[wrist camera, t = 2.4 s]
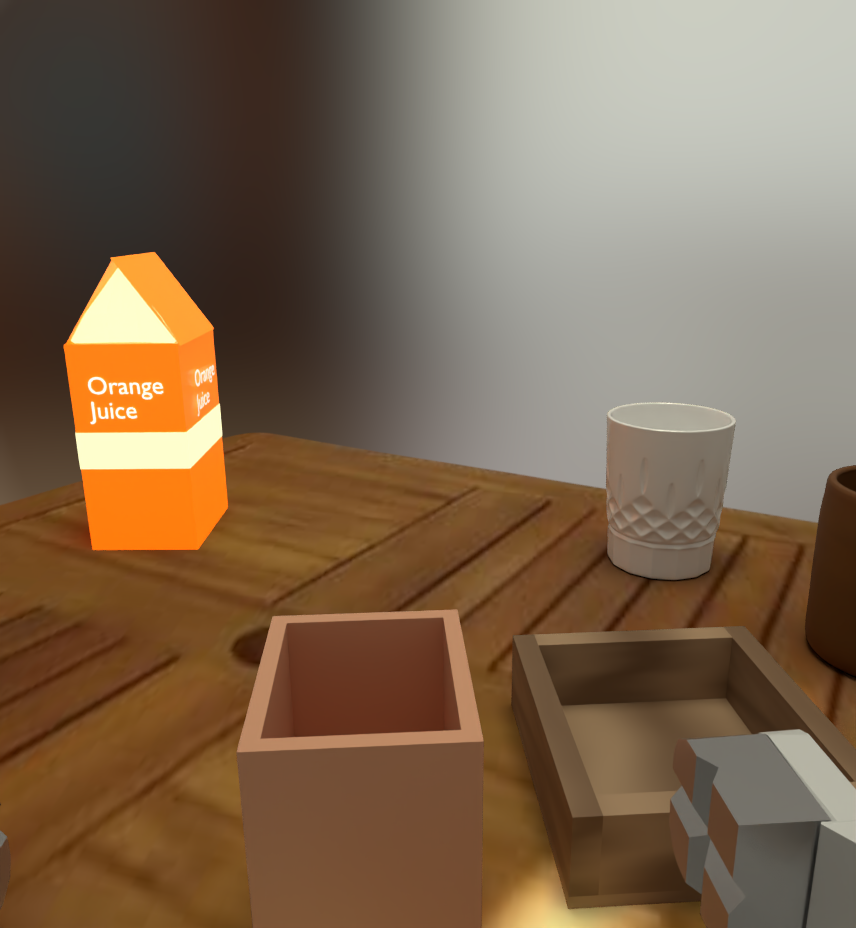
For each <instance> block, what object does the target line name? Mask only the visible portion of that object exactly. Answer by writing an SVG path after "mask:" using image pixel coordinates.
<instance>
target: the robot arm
mask: <svg viewBox="0 0 856 928" xmlns="http://www.w3.org/2000/svg"><path fill="white" fill-rule="evenodd" d="M673 770H674V771H675V773H676V775H677V777H678V779H679V781H680V783H681V785H682V786H681V787H680V788H679V789H678V791H677V792H676V793H675V794H674V795H673V797H672V798H671V799H670V817H669V825H670V833H671V841H672V848H673V851H674V854H675V858H676V861H677V864H678V867H679V869H680V871H681V874H682V876H683V878H684V880H685V883H687V884H688V885H689V886H691V887H692V888H694V889H695V890H696V891H698V892H699V893H700V894H702V898H701V910H700V915H701V917H702V919H703V921H704V923H705V925H706V928H856V789H855V788H854V786H853V785H852V784H851V783H850V782H849V781H848V779H847V778H846V777H845V776H844V775H843V774H842V772H841V771H840V770H839V769H838V768H837V767H836V765H835V764H834V763H833V762H832V761H831V760H830V758H829V757H828V756H827V755H826V754H825V753H824V751H823V750H822V749H821V748H820V747H819V746H818V744H817V743H816V742H815V741H814V740H813V739H812V737H811V736H810V735H809V734H808V733H806V732H804V731H802V730H800V729H796V730H784V731H772V732H760V733H759V734H749V735H733V736H717V737H701V738H685V739H678V741H677V744H676V747H675V750H674V759H673ZM0 805H1V804H0ZM9 879H10V850H9V844H8V839H7V836H6V835H5V834H3V833H2V832H1V831H0V909H1V907H2V905H3V902H4V898H5V894H6V891H7V887H8V883H9Z"/></svg>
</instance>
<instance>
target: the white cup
mask: <svg viewBox="0 0 856 928" xmlns="http://www.w3.org/2000/svg"><path fill="white" fill-rule="evenodd" d="M735 424H736V420H735V418H734V417H733V416H731V415H729V414H728V413H726V412H723V411H720V410H717V409H713V408H708V407H703V406H697V405H690V404H679V403H635V404H628V405H623V406H618V407H615V408H613V409H611V410H610V411H608V413H607V468H606V488H607V517H608V522H609V524H608V549H607V553H608V556H609V558H610V559H611V561H612V563H613V564H614V565H615V566H617V567H619V568H621V569H623V570H625V571H627V572H628V573H631V574H635V575H639V576H643V577H647V578H652V579H665V580H680V579H687V578H694V577H697V576H699V575H701V574H703V573H705V572H707V571H709V569H710V565H711V561H712V555H713V548H714V541H715V537H716V532H717V530H718V528H719V523H720V515H721V511H722V507H723V499H724V492H725V489H726V484H727V477H728V470H729V463H730V456H731V450H732V444H733V437H734V431H735Z"/></svg>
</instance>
